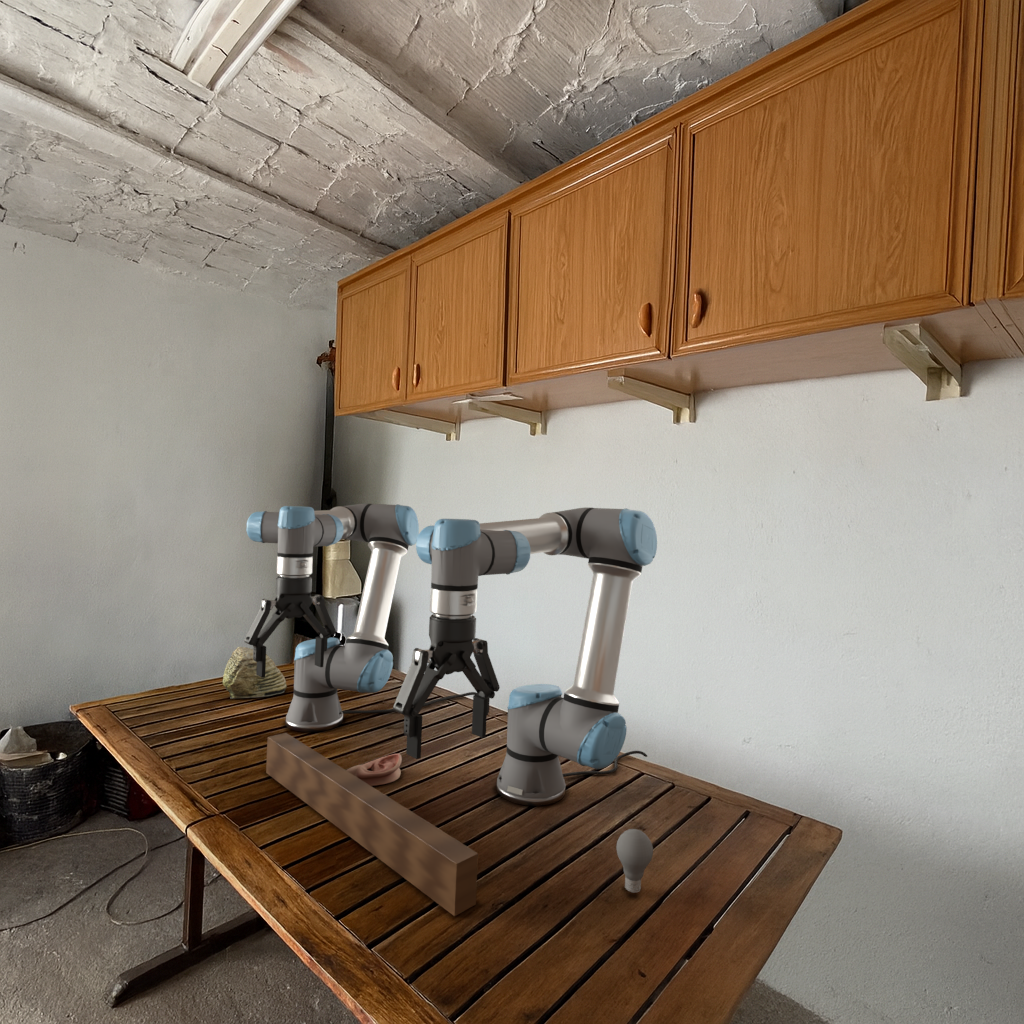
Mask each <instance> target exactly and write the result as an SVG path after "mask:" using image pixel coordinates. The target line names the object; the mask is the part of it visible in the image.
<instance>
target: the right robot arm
mask: <svg viewBox="0 0 1024 1024" xmlns="http://www.w3.org/2000/svg"><path fill="white" fill-rule="evenodd" d="M657 549H658V535H657V531H656V527H655V524H654V521H653V520H652V518H651V517H650V516H649V515H648V514H647V513H645V512H644V511H642V510H638V509H637V510H636V509H629V508H608V507H607V508H604V507H603V508H602V507H578V508H572V509H566V510H565V509H564V510H559V511H552V512H546V513H543V514H541V515H540V516H539V517H537V518H526V519H516V520H515V519H514V520H503V521H493V522H491V521H490V522H482V523H480V522H479V521H478V520H476V519H470V518H469V519H467V518H439V519H437V520H436V521H435V523H434V525H427V526H425V527H424V528H423V529H421V530H420V531H419V535H418V537H417V541H416V544H415V550H416V554H417V556H418V558H419V559H420V560H421V562H423V563H425V564H427V565H431V573H430V574H431V579H430V594H429V612H430V613H432V614H431V615H430V616H429V619H428V620H429V621H428V622H429V623H428V637H429V639H430V646H429V648H428V649H422V648H419V647H415V648H414V649H413V651H412V657H411V663H410V665H409V668H408V670H407V673H406V675H405V678H404V680H403V682H402V684H401V687H400V690H399V692H398V694H397V696H396V700H395V701H394V704H393V706H392V709H393V710H394V711H396V712H395V713H398V714H401V715H403V735H404V736H406V749H405V754H406V755H408V756H409V757H412V758H413V759H416V760H419V759H421V757H422V737H423V736H422V735H423V715H422V714H419V713H420V712H421V710H422V709H423V707H424V706H423V705H424V704H425V703H426V702H427V701H428V699H429V697H430V696H431V694H432V692H433V691H434V690H435V688H436V686H437V684H438V683H439V681H440V680H442V679H443V678H444V677H445V676H446V675H452V674H453V673H461V672H462V673H463V675H464V676H465V677H466V679H467V680H468V682H469V683H470V684H471V686H472V688H473V689H474V691H475V692H476V693H478V694H479V695H472V696H473V697H472V719H471V720H472V721H471V735H474V736H476V737H479V738H481V739H485V738H486V737H487V718H488V715H489V713H490V699H494V698H495V696H496V693H497V692H499V691H500V688H501V687H500V683H499V681H498V677H497V675H496V672H495V669H494V666H493V664H492V661H491V658H490V654H489V647H488V645H489V644H488V643H489V642H488V641H487V640H484V639H481V638H478V637H476V635H477V634H476V633H477V631H476V630H477V618H476V616H475V614H476V613H477V610H478V609H477V608H478V607H477V606H478V586H479V577H482V576H491V575H492V576H493V575H510V574H514V573H518V572H521V571H523V570H524V569H525V568H526V567H527V566H528V564H529V562H530V560H531V555H535V554H541V553H543V554H544V555H547V556H557V555H558V556H568V557H576V558H581V559H587V560H588V561H587V566H588V568H589V569H590V571H591V572H592V580H591V585H590V590H589V597H588V601H587V605H586V606H587V607H586V612H585V617H584V622H583V629H582V634H581V640H580V644H579V649H578V657H577V661H576V668H575V673H574V679H573V683H572V685H571V686H570V687H568V688H567V689H565V690H564V693H563V691H562V688H561V687H560V686H559V685H556V684H552V683H551V684H550V683H533V684H525V685H521V686H517V687H515V688H513V689H512V690H511V691H510V693H509V697H508V705H507V725H506V752H505V757H504V759H503V762H502V765H501V767H500V770H499V773H498V775H497V779H496V791H497V793H498V795H500V796H501V797H502V798H503V799H505V800H506V801H509V802H511V803H513V804H518V805H522V806H530V807H539V806H547V805H552V804H555V803H557V802H559V801H560V800H562V799H563V798H564V797H565V794H566V781H565V778H566V777H573V776H581V775H608V774H612V773H614V772H616V771H617V770H618V768H619V767H618V766H619V765H618V761H619V760H620V759H622V758H625V757H628V756H630V755H635V754H636V755H637V754H638V755H642V756H643V757H645V758H647V757H648V754H647V753H646V752H644V751H642V750H631V751H627V752H625V753H623V754H622V753H621V751H622V749H623V747H624V744H625V741H626V737H627V730H628V729H627V725H626V724H627V723H626V722H627V721H626V719H625V717H624V716H622V714H620V713H619V709H620V702H619V700H618V698H616V696H615V688H616V683H617V682H616V680H617V676H618V670H619V664H620V658H621V652H622V648H623V647H622V646H623V641H624V635H625V629H626V623H627V617H628V613H629V605H630V601H631V593H632V588H633V582H634V581H635V580H636V579H638V578H639V577H640V576H642V572H643V567H646V566H648V565H650V564H652V563H653V561H654V559H655V557H656V555H657ZM472 654H473V657H474V659H475V662H474V661H473V659H472V658H471V656H472ZM475 663H476V664H475ZM477 668H478V669H477ZM562 695H563V697H562ZM620 753H621V754H620ZM559 757H561V758H564V759H566V760H569V761H571V762H574V763H577V764H578V765H580V766H582V767H589V768H591V769H595V770H596V771H595V770H593V771H592V770H584V771H583V770H582V771H572V772H565V773H563V769H562V766H561V762H560V758H559ZM612 763H614V767H613V768H611V769H609V770H601V769H605V768H607V767H608V766H610V765H611V764H612ZM597 770H598V771H597ZM600 770H601V771H600Z"/></svg>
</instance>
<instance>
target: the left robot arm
mask: <svg viewBox="0 0 1024 1024" xmlns="http://www.w3.org/2000/svg"><path fill="white" fill-rule="evenodd" d="M419 533H420V525H419V520H418V516H417V512H416V510H414V508H412V507H411V506H409V505H403V504H384V503H357V504H349V505H348V504H347V505H343V506H334V507H332V508H330V509H327V510H326V509H323V510H322V509H321V510H315V509H314V508H313V507H312V506H301V505H299V506H298V505H283V506H281V507H280V508H279V511H267V510H264V511H254V512H253V513H251V514H250V515H249V517H247V521H246V534H247V536H248V538H249V539H250V540H251V541H253V542H256V543H262V544H277V555H276V574H277V575H278V576H277V577H276V579H275V599H267V598H262V599H261V600H260V605H259V610H258V612H257V613H256V616H255V618H254V620H253V621H252V624H251V625H250V627H249V630H248V632H247V633H246V635H245V637H244V643H245V644H247V645H250V646H252V649H253V660H254V661H256V662H257V671H256V675H258V676H260V677H265V669H266V654H267V646H266V645H264V644H265V643H266V642H267V641H268V639H269V638H270V636H271V635H272V634H273V633H274V631H275V630H276V629H277V628H278V626H279V625H280V624H281V623H282V622H284V621H285V619H294V618H299V619H300V618H302V617H303V618H304V619H305V621H307V623H308V624H309V625H310V626H311V628H313V630H314V631H315V632H316V633H317V635H319V636H315V638H313V639H307V640H304V641H302V642H299V643H298V644H297V645H296V647H295V652H294V659H293V660H294V672H293V695H292V696H293V697H292V699H291V702H290V704H289V708H288V711H287V713H286V715H285V726H286V728H287V729H289V730H291V731H294V732H295V731H296V732H301V733H316V732H325V731H329V730H332V729H335V728H337V727H339V726H340V725H342V723H343V722H344V715H355V714H357V715H358V714H360V715H362V714H363V715H364V714H367V715H368V714H387V713H397V712H396V711H394V710H393V708H389V709H371V710H370V709H367V710H366V709H362V710H361V709H359V710H358V709H356V710H352V709H351V710H343V709H342V706H341V702H340V699H339V695H338V690H342V691H351V692H358V693H362V694H364V693H369V694H374V693H375V694H376V693H378V692H380V691H381V690H382V689H383V688H384V687H385V685H386V684H387V683H388V681H389V679H390V676H391V675H392V670H393V668H394V667H393V666H394V661H393V660H394V657H393V653H392V652H391V651H390V650H389V643H388V642H387V640H386V639H385V638H386V632H387V628H388V623H389V617H390V613H391V608H392V604H393V599H394V593H395V588H396V584H397V580H398V574H399V569H400V566H401V559H402V557H404V556H405V555H406V554H408V551H409V547H410V546H414V545H415V546H416V541H417V537H418V535H419ZM340 540H348V541H354V542H355V541H357V542H360V543H361V542H363V543H367V547H368V548H369V549H370V551H371V554H370V557H369V562H368V567H367V571H366V576H365V580H364V585H363V589H362V594H361V598H360V602H359V607H358V610H357V611H358V612H357V616H356V621H355V625H354V628H353V629H354V630H353V632H352V633H351V634H350V635H348V636H347V637H346V638H345V639H346V640H345V644H344V645H341V641H340V639H339V638H338V637H331V635H335V634H336V633H337V630H336V627H335V625H334V623H333V621H332V618H331V616H330V613H329V612H328V610H327V606H326V603H325V602H326V601H325V596H324V595H321V594H314V596H312V592H313V591H312V589H313V588H312V587H313V577H311V575H312V574H313V561H314V560H313V559H314V548H316V547H330V546H332V545H336V544H338V543H339V542H340ZM312 604H313V605H314V607H315V610H316V612H317V614H318V616H319V619H320V621H321V623H322V624H321V623H320V621H319V620H318V619H317V618H316V616H315V615H314V613H313V611H312V610H311V609H310V607H311V605H312ZM274 607H275V609H276V610H275V611H273V614H272V615H271V618H270V619H269V620H268V621H267V619H268V618H269V615H270V612H271V610H273V608H274ZM266 621H267V623H266ZM265 623H266V624H265ZM264 624H265V625H264ZM474 695H479V694H478V693H477V692H476V691H470V692H464V693H460V694H453V695H448V696H444V697H440V698H436V699H433V700H430V701H426V702H425V704H424V705H423V707H426V706H427V707H428V706H430V705H432V704H436V703H439V702H444V701H447V700H451V699H458V698H464V697H468V696H469V697H470V696H474Z"/></svg>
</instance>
